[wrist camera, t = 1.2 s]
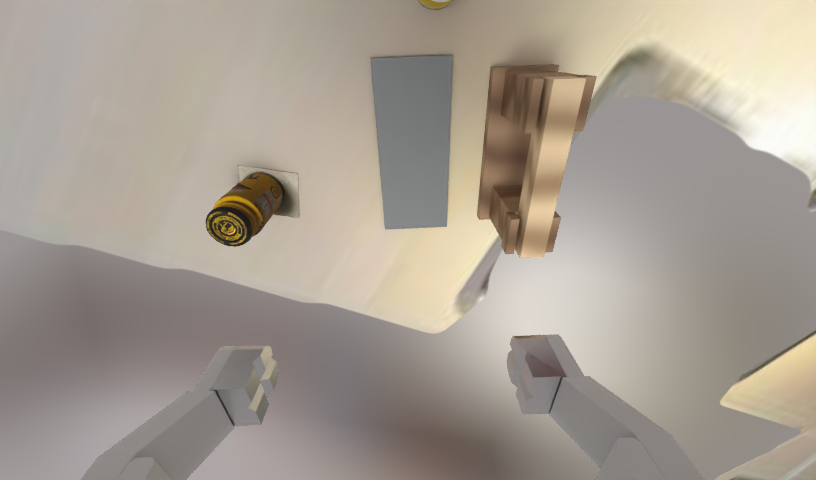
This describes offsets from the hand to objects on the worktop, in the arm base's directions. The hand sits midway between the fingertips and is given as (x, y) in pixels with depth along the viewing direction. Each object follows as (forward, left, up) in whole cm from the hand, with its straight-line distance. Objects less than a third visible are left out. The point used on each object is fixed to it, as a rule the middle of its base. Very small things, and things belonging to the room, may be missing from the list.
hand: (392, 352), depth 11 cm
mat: (+4, +2, -38) cm, 38 cm away
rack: (+4, +16, -38) cm, 41 cm away
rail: (+4, +16, -26) cm, 31 cm away
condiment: (+9, -20, -38) cm, 44 cm away
